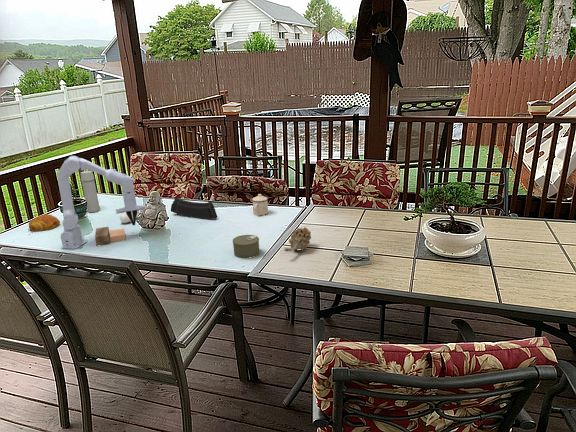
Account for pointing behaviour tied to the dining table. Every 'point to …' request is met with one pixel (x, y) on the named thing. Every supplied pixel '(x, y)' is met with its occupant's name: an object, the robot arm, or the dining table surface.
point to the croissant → (43, 223)
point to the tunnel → (102, 236)
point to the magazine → (193, 209)
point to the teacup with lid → (260, 205)
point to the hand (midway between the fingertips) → (133, 224)
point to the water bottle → (90, 191)
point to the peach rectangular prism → (117, 235)
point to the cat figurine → (126, 217)
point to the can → (246, 246)
